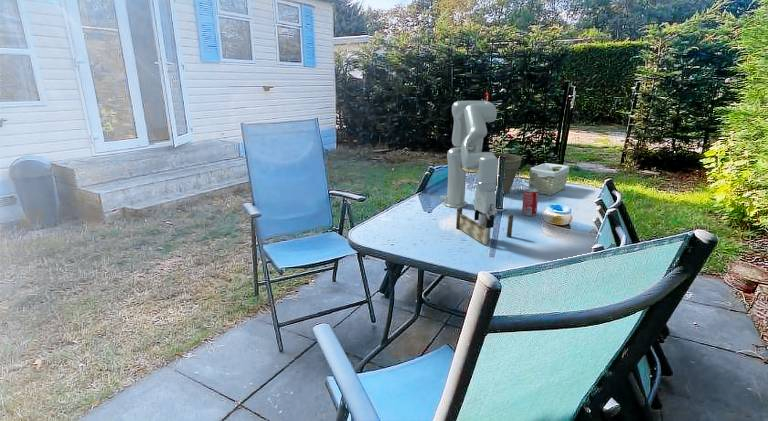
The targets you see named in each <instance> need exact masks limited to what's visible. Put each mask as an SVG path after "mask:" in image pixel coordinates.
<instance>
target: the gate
mask: <svg viewBox="0 0 768 421" xmlns="http://www.w3.org/2000/svg"><path fill="white" fill-rule="evenodd" d="M458 230H461V232H464V233H465V234H467V235H468V236H469V237H472V238H473V239H475V240H476V241H478V242H480V243H481V244H483V245H487V244H488V241H487V234H488V228H486V227H484V226H482V225H481V224H479V223H478V222H476V221H475V220H474V219H471V218H469V217H468V216H466V215H464V214H463V213H462V214H461V215H460V228H459V229H458Z"/></svg>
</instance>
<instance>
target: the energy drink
mask: <svg viewBox="0 0 768 421" xmlns="http://www.w3.org/2000/svg"><path fill="white" fill-rule="evenodd" d="M489 215H490V216H491V214H489ZM487 219H488V217H487V214H483V213H481V212H480V213H479V220H477V221H478V222H477V223H479V224H481V225H482V226H484V227H486V223H487ZM491 230H492V228H488V234H487V242H488V241H490V239H491Z"/></svg>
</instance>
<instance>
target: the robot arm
mask: <svg viewBox="0 0 768 421" xmlns="http://www.w3.org/2000/svg"><path fill="white" fill-rule="evenodd" d="M497 112H498V111H497V108H496V106H495V105H494V103H492V102H490V101H487V100H457V101H454V102H453V103H452V105H451V114H452V117H453V128H452V134H451V143H452V145H453V147H451V148H450V149H449V150H447V154H446V158H447V190H446V191H447V192H446V193H447V194H446V195H444V194H443V195H439V198H440V200H443V204H444V206H446V207H448V208H454V209H457V208H458V207H461V208H465V207H467V206H468V201H465V200H466V199H465V195H466V179H467V178H466V177H467V173H466V171H465V170H468V171H477V172H478V173H477V182H476V183H477V187H476V189H475V193H474V199H473V208H474V219H473V221H475V222H476V221H478V220H479V213H480V212H481V213H483V214H487V217H488V219H487V223H486V228H491V229H493V228H494V224H495V219H496V217H497V215H498V210H497V208H496V202H497V201H496V198H497V195H495V189H496V177H497V165H498V159H497V158H496V156H495V155H494V154H493V153H494V152H489V151H483V145H484V144H483V143H484V138H485V137H487V134H488V128H487V125H486V123H493V122H495V120H496V119H497V115H498V114H497ZM462 166H463V167H462ZM464 169H465V170H464ZM489 214H491V216H490V215H489Z"/></svg>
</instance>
